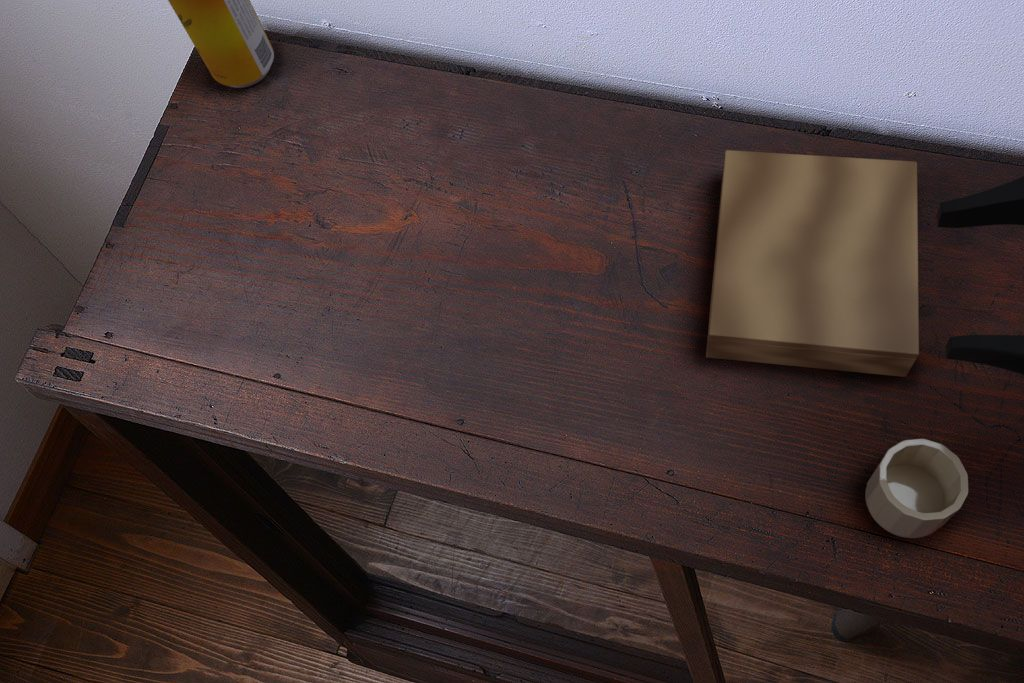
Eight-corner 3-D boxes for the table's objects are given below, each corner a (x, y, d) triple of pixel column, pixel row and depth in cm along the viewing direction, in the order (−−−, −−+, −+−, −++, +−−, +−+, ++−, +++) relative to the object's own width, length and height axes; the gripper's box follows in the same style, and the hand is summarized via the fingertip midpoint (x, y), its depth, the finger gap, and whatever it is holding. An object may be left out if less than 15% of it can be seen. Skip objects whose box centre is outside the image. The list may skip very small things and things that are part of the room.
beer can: (223, 40, 92) (152, -93, 78) (284, 42, 91) (221, -92, 77) (205, 90, 89) (127, -38, 76) (267, 93, 88) (199, -36, 75)
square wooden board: (905, 190, 76) (917, 161, 72) (905, 377, 69) (919, 354, 66) (722, 178, 78) (725, 149, 75) (705, 357, 71) (708, 334, 68)
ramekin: (947, 466, 66) (967, 443, 62) (949, 544, 64) (969, 525, 60) (865, 456, 67) (879, 433, 63) (864, 533, 65) (879, 514, 61)
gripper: (1248, 98, 47) (943, 124, 51) (1296, 390, 43) (962, 393, 47) (1196, 162, 54) (929, 181, 58) (1234, 421, 50) (945, 422, 54)
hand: (943, 280), depth 53 cm, fingers open, 7 cm apart
